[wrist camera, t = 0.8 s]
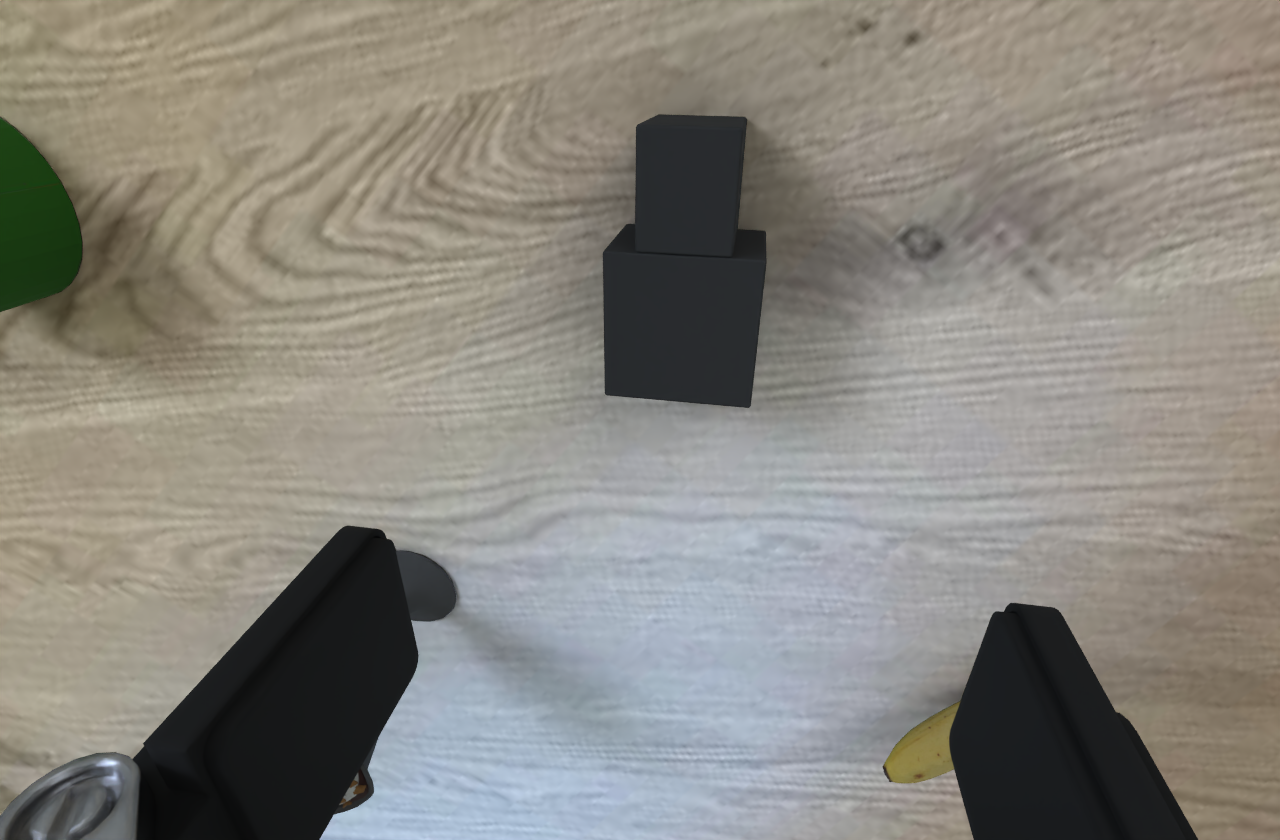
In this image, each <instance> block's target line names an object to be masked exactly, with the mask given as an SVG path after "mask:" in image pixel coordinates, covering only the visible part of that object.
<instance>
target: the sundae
mask: <svg viewBox="0 0 1280 840" xmlns="http://www.w3.org/2000/svg"><path fill="white" fill-rule="evenodd" d="M396 554H397V559H398V564H399V568H400V573H401V577H402V582H403V586H404V591H405V595H406V600H407V604H408V609H409V613H410V618H411V620H414V621H435V620H439V619H441V618H444V617H445V616H446V615H448V614H449V613H450V612H451V611H452V609H453V608H454V605H455V602H456V593H455V589H454V586H453V584H452V581H451V580H450V578H449V577H448V575H447V574H446V573H445V572H444V571H443V569H442V568H441V567H439V566H438V565H437V564H436V563H434V562H433V561H431V560H430V559H428V558H426V557H424V556H422V555H419V554H416V553H413V552H409V551H396ZM377 740H378V738H377ZM377 740H376V742H375V743H374V745H373V747H372V749H371V750H370V752H369V754H368V756H367V757H366V759H365V761H364V763H363V764H362V766H361V768H360V770H359V771H358V773H357V775H356V777H355V778H354V780H353V782H352V783H351V785H350V787H349V789H348V790H347V792H346V794H345V796H344V797H343V799H342V801H341V803H340V804H339V806H338V808H337V810H336V811H335V813H334V814H337V813H341V812H345V811H348V810H350V809H353V808H355V807H357V806H359V805H361V804H362V803H364V802H365V801H366V800H368V799H369V798H370V797H371V796H372V795H373V793H374V786H373V782H372V779H371V777H370V774H369V772H368V770H367V769H368V766H369V763H370V760H371V757H372V754H373V751H374V749H375V746H376V743H377Z"/></svg>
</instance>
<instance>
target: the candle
mask: <svg viewBox="0 0 1280 840" xmlns="http://www.w3.org/2000/svg"><path fill="white" fill-rule="evenodd" d="M81 260H82V239H81V234H80V228H79V223H78V220H77V217H76V214H75V211H74V208H73V205H72V203H71V201H70V199H69V197H68V195H67V193H66V191H65V189H64V187H63V185H62V183H61V182H60V180H59V179H58V177H57V176H56V174H55V173H54V171H53V170H52V168H51V167H50V165H49V164H48V163H47V161H46V160H45V159H44V158H43V157H42V156H41V154H40V153H39V152H38V151H37V150H36V148H35V147H34V146H33V145H32V144H31V143H30V142H29V141H28V140H27V139H26V138H25V137H24V136H23V135H22V134H20V133H19V132H18V131H17V130H16V129H15V128H14V127H13V126H11V125H10V124H9V123H7V122H6V121H5V120H3V119H2V118H0V312H2V311H5V310H8V309H11V308H14V307H17V306H20V305H23V304H26V303H29V302H32V301H35V300H38V299H41V298H45V297H48V296H50V295H53V294H56V293H59V292H61V291H62V290H64V289H65V288H66V287H67V286H69V285H70V284H71V283H72V281H73V280H74V278H75V277H76V275H77V273H78V270H79V267H80V263H81Z"/></svg>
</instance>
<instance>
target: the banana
mask: <svg viewBox="0 0 1280 840" xmlns="http://www.w3.org/2000/svg"><path fill="white" fill-rule="evenodd" d="M959 704H960V701H959V702H957V703H955V704H953V705H952V706H950V707H948V708H946V709H944V710H942V711H940V712H938V713H937V714H935V715H933V716H931V717H930V718H928V719H927V720H925V721H923V722H922V723H920V724H919V725H917V726H916V727H914V728H913V729H911V730H910V731H909V732H908V733H907V734H906V735H905V736H904V737H903V738H902V739H901V740H900V741H899V742H898V743H897V744H896V745H895V747H894V748H893V750H892V752H891V753H890V755H889V757H888V758H887V760H886V762H885V764H884V766H883V769H884V774H885V775H886V776H887V778H888V779H889V782H896V783H917V782H921V781H925V780H928V779H931V778H934V777H937V776H939V775H942V774H944V773H947V772H949V771H951V770H953V769H954V766H953V762H952V759H951V754H950V747H949V735H950V729H951V726H952V723H953V721H954V718H955V715H956V712H957V710H958V707H959Z"/></svg>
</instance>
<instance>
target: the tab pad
mask: <svg viewBox="0 0 1280 840" xmlns="http://www.w3.org/2000/svg"><path fill="white" fill-rule="evenodd" d="M746 125H747V119H746V118H745V117H730V116H693V115H657V116H655V117H653V118H650V119H648V120H646V121H644V122H642V123H640V124H638V125H637V127H636V197H635V224H626V226H625V227H624V228H623V229H622V230H621V231H620V233H619V234H618V235H617V236H616V237H615V239H614V240H613V241H612V242H611V243H610V244H609V246H608V247H607V248H606V249H605V250H604V252H603V290H604V362H605V394H606V395H611V396H622V397H633V398H644V399H655V400H667V401H678V402H689V403H700V404H712V405H723V406H734V407H745V408H750V406H751V398H752V389H753V380H754V371H755V362H756V353H757V344H758V335H759V326H760V316H761V307H762V298H763V289H764V280H765V271H766V232H765V231H757V230H737V228H738V218H739V207H740V195H741V183H742V172H743V160H744V148H745V137H746Z"/></svg>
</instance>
